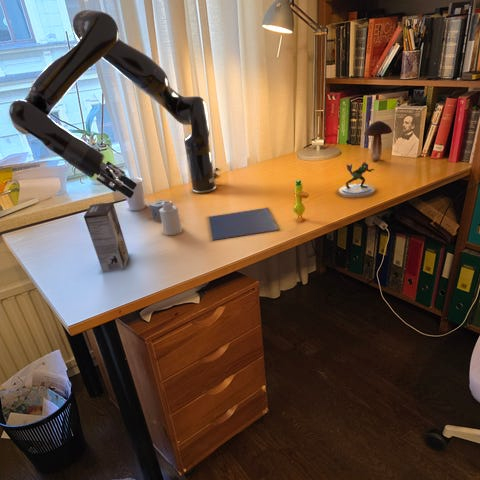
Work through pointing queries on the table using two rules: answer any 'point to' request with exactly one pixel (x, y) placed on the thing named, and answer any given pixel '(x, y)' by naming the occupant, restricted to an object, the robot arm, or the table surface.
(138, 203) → the dixie cup
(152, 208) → the dice cube
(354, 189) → the monster figurine
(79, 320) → the table surface
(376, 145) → the decorative mushroom
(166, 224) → the white vase
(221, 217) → the paper sheet
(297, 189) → the toy figure
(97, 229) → the coffee box
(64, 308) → the table surface
